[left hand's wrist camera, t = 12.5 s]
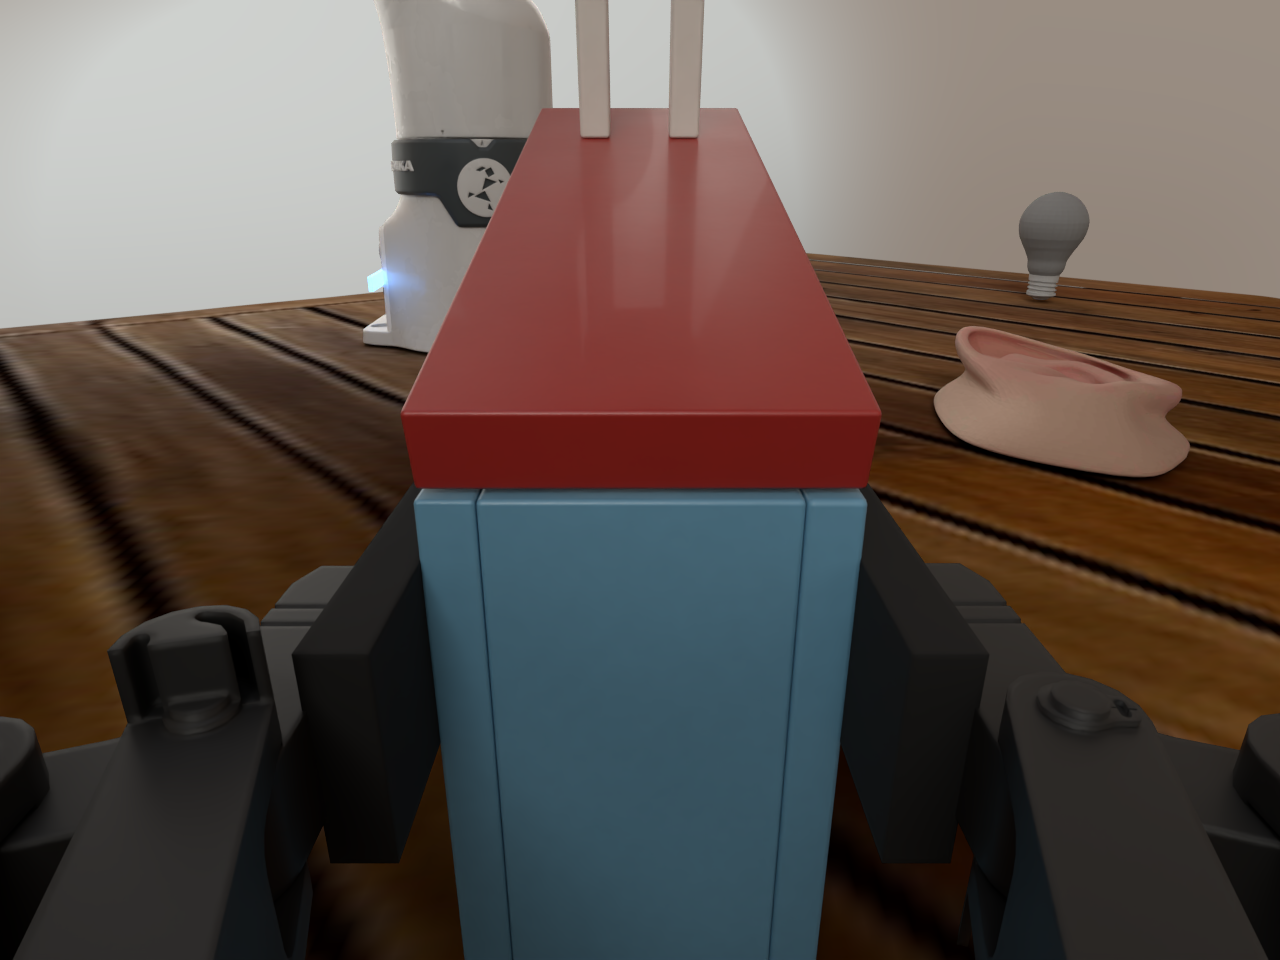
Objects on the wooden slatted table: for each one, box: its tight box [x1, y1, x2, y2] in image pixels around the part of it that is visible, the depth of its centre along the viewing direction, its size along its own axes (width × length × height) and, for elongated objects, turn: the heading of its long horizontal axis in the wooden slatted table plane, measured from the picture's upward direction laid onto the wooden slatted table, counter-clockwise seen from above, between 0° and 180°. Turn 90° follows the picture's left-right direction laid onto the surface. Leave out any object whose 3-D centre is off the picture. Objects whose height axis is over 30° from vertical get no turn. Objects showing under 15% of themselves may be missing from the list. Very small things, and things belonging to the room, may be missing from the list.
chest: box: [414, 489, 867, 960], centre depth 18 cm, size 15×5×9 cm, turn 0°
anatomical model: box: [934, 326, 1190, 477], centre depth 40 cm, size 13×4×12 cm
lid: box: [400, 0, 882, 489], centre depth 14 cm, size 16×5×8 cm, turn 0°
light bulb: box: [1019, 192, 1089, 300], centre depth 78 cm, size 6×6×10 cm
